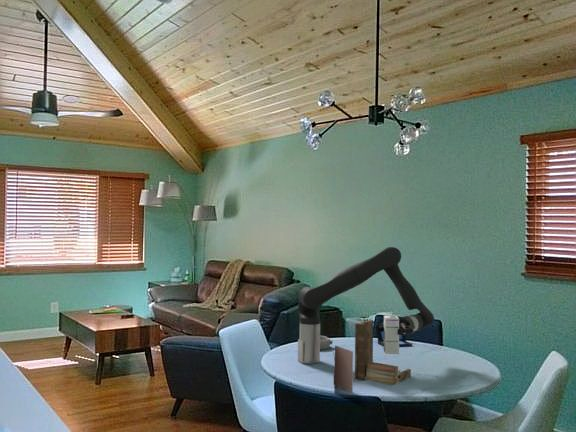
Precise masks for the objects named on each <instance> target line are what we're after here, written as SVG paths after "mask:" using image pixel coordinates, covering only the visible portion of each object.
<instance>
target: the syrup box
mask: <svg viewBox="0 0 576 432" xmlns="http://www.w3.org/2000/svg"><path fill="white" fill-rule="evenodd" d="M399 318H400V317H398V316H397V315H383V323H384V346H383V351H384V353H385V354H389V355H390V354H391V355H397V354H398V355H399V354H400V347H399V335H398V334H397V333H398V329H399Z"/></svg>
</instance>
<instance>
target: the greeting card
mask: <svg viewBox="0 0 576 432" xmlns="http://www.w3.org/2000/svg"><path fill="white" fill-rule="evenodd" d="M332 352H333V357H334V367H333V387H334V389H336V387H338V388H341V389H344V390H346V391H347V392H350V393H353V383H354V382H353V380H354V379H353V378H354V376H353V375H354V374H353V372H354V369H353V368H354V366H353V365H354V359H353V358H354V356H353V355H354V351H353V350H350V349H346V348H344V347H341V346H338V345H335V346H334V350H332ZM333 392H334V394H336V393H335V391H333Z"/></svg>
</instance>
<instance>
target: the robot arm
mask: <svg viewBox="0 0 576 432" xmlns="http://www.w3.org/2000/svg"><path fill="white" fill-rule="evenodd" d="M401 260H402V253H401V251H400V250H399V249H398V248H397V247H394V246H388V247H386V248H383V249H382V250H381V251H380V252H378V253H377V254H375V255H373V256H371V257H370V258H367V259H364V260H363V261H360V262H357V263H355V264H353V265H351V266H349V267H347V268H345V269H343V270H341V271H339V272H338V273H337V274H335V275H334V276H333V277H332V278H331V279H329V280H328V281H327V282H325V283H323V284H320V285H317V286H315V287H312V286H305V287H303V288H302V289H300V291H299V293H298V299H297V300H298V306H297V307H298V308H297V309H298V317H299V318H298V319H299V339H298V338H297V361H298V362H300V363H301V364H311V365H313V364H318V363H320V362H321V351H320V336H321V316H320V314H319V307H320V306H322V305H324V304H326V303H327V302H328V301H329V300H331V299H333V298H335V297H337V296H339V295H341V294H343V293H346V292H347V291H350V290H352V289H354V288H356V287H358V286H360V285H361V284H363V283H364V282H365V283H366V281H368V280H369V279H371V278H373V276H374V275H376V274H377V273H379V272H381V271H384V272H385V274H386V275H387V276H388V278H389V279H390V281H391V282H392V284H393V285H394V287H395V288H396V290H397V292H398V293H399V295H400V296H399V297H401V300H402V301H403V303H404V305H405V306H406V309H408V310H409V311H414V310H418V311H419V312H418V313H415V314H410V315H404V316H401V317H398V318H399V329H398V333H397V334H398V335H405V336H406V335H407V336H408V335H413V334H414V333H416V331H421V330H423V329H425V328H427V327H430V326H431V325H433V324H434V322H435V316H434V314H433V313H432V311H431V310H430V309H428V308H427V307H426V305H425V304H424V303H423V301H422V300H421V298H420V296H419V295H418V293H417V291H416V289H415V288H414V287H413V286H412V283H410V282H409V280H407V278H406V277H405V275H404V273H402V271H401V269H400V267H399V263H400V262H401ZM379 325H380V327H379V332H383V331H384V322H381V323H379Z"/></svg>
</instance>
